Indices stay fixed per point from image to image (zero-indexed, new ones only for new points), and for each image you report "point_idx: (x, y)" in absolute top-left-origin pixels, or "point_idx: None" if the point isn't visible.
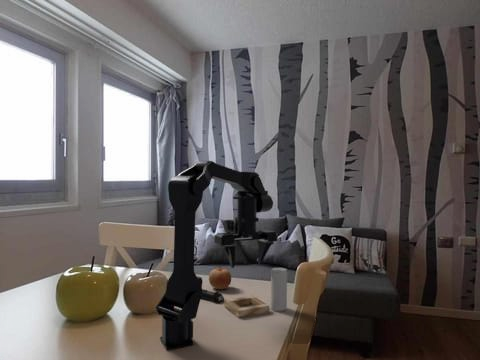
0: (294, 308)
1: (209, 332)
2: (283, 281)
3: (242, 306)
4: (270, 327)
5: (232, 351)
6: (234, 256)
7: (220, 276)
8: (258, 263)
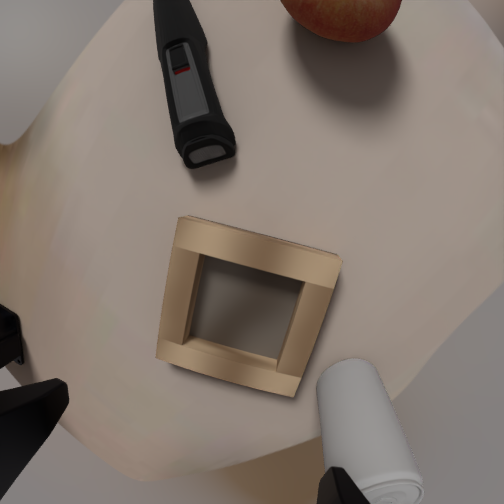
0: None
1: (59, 349)
2: None
3: (246, 280)
4: (206, 441)
5: (76, 430)
6: (12, 477)
7: (309, 2)
8: (328, 472)
